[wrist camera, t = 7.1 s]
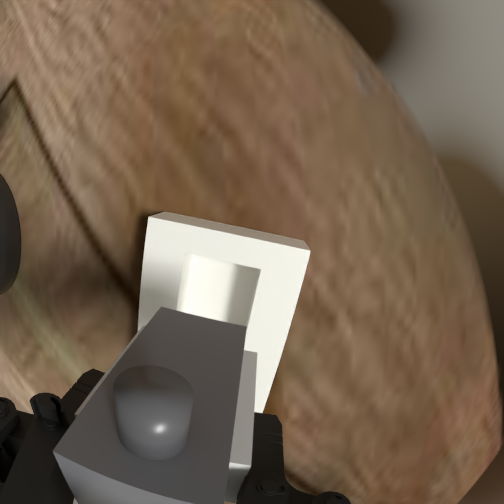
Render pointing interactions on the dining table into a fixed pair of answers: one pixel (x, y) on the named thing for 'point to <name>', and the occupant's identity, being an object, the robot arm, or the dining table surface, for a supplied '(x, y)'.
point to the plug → (160, 417)
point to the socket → (225, 282)
